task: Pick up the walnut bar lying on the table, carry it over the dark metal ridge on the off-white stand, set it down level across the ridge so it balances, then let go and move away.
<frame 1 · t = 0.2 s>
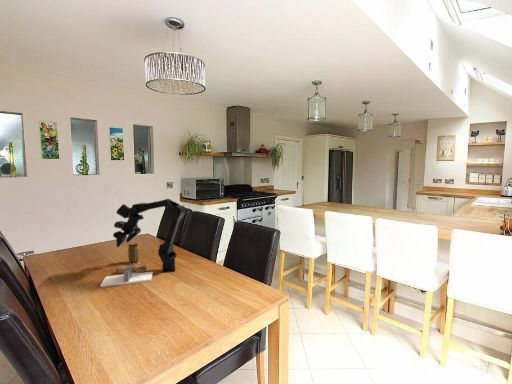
hand: (122, 244, 166), 14 cm above the table, tool tilted 30°, fingers open, 9 cm apart
balance stand: (128, 279, 148), on the table
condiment: (134, 262, 174), on the table
walnut bar: (131, 271, 160), on the table
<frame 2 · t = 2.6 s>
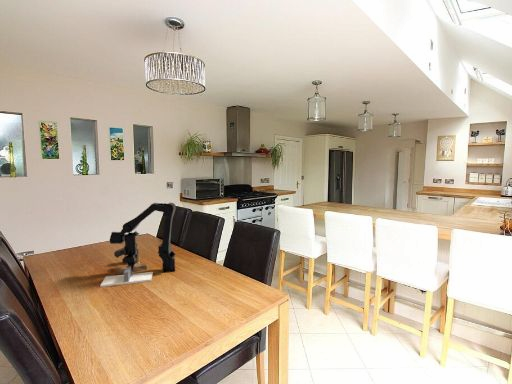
hand: (131, 269, 160), 1 cm above the table, tool pointing down, fingers closed on walnut bar, 3 cm apart
walnut bar: (131, 271, 160), on the table, touching gripper
everything else where it was.
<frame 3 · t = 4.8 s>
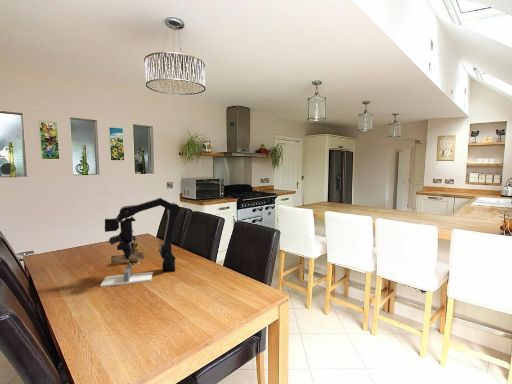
hand: (127, 257, 150), 11 cm above the table, tool pointing down, fingers closed on walnut bar, 3 cm apart
walnut bar: (127, 260, 150), point 10 cm above the table, touching gripper
everything else where it was.
when the fingers open (8 cm above the table, at t = 6.4 s): walnut bar stays where it is, resting on balance stand.
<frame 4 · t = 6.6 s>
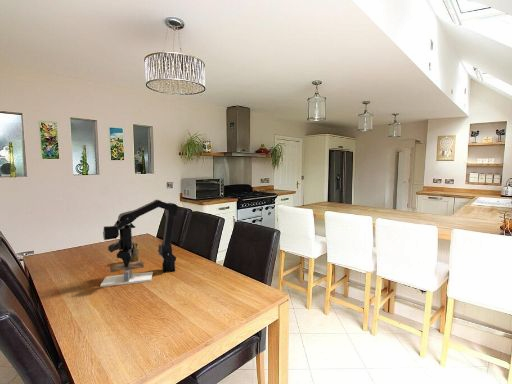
hand: (127, 265, 147), 8 cm above the table, tool pointing down, fingers open, 6 cm apart
walnut bar: (127, 269, 147), point 6 cm above the table, touching balance stand
everything else where it was.
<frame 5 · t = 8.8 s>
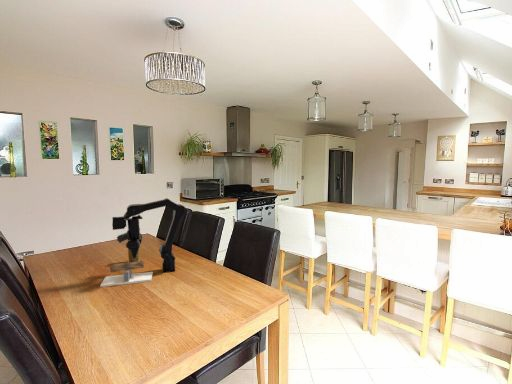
hand: (135, 255, 152), 12 cm above the table, tool pointing down, fingers open, 9 cm apart
nothing on the table moved.
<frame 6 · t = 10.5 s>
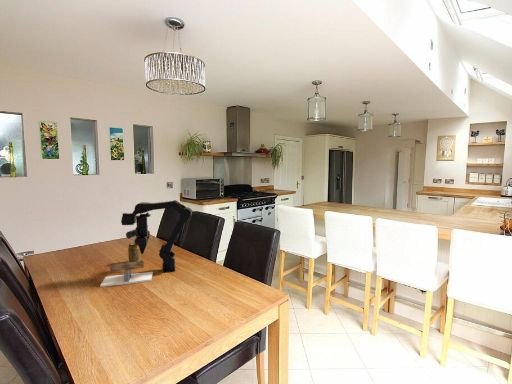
hand: (143, 251, 158), 12 cm above the table, tool pointing down, fingers open, 9 cm apart
nothing on the table moved.
at the end: walnut bar 0.0 cm off-centre on the balance stand, point 6.0 cm above the balance stand's base; walnut bar tilted 0°; walnut bar touching balance stand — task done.
